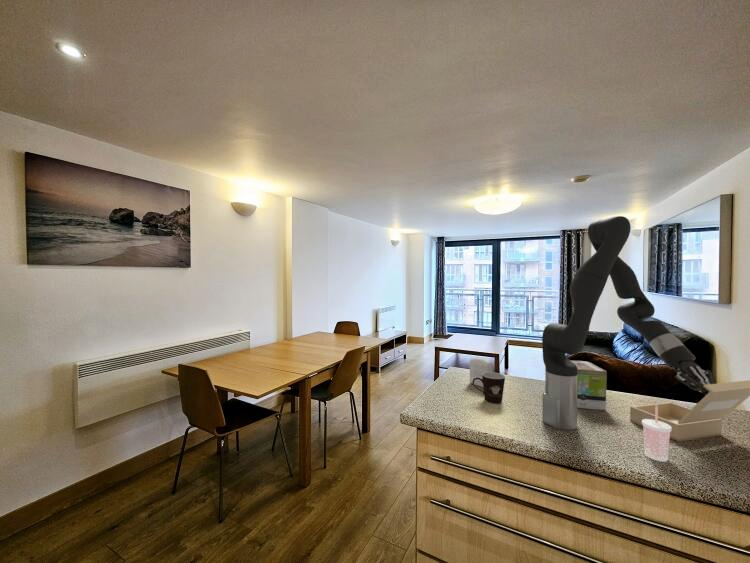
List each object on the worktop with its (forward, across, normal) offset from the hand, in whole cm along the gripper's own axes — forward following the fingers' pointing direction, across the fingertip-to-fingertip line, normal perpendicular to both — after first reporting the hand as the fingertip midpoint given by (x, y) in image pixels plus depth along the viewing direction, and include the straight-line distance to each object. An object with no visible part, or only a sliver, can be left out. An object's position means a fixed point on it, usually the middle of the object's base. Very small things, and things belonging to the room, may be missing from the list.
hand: (718, 402), depth 92 cm
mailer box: (+1, 0, +17) cm, 17 cm away
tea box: (-16, -10, +34) cm, 39 cm away
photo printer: (-34, -39, +53) cm, 74 cm away
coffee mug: (-23, -45, +42) cm, 65 cm away
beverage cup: (+9, -24, +8) cm, 27 cm away
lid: (-2, 0, +1) cm, 2 cm away
